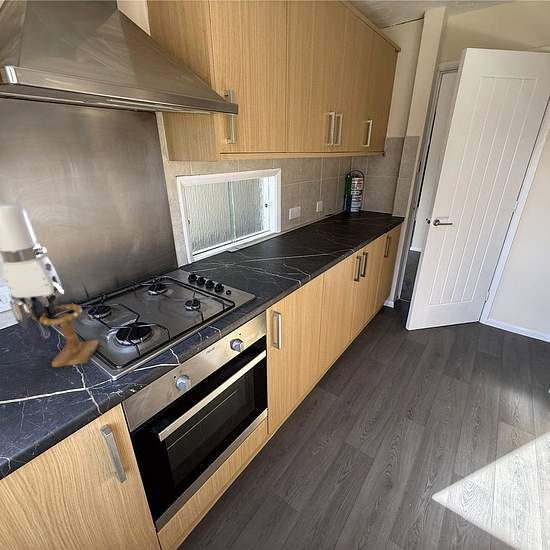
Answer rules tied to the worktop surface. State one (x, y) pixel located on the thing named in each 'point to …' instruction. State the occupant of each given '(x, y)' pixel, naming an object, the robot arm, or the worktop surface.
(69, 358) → the stand
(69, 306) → the ring
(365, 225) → the worktop surface
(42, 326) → the beer glass
